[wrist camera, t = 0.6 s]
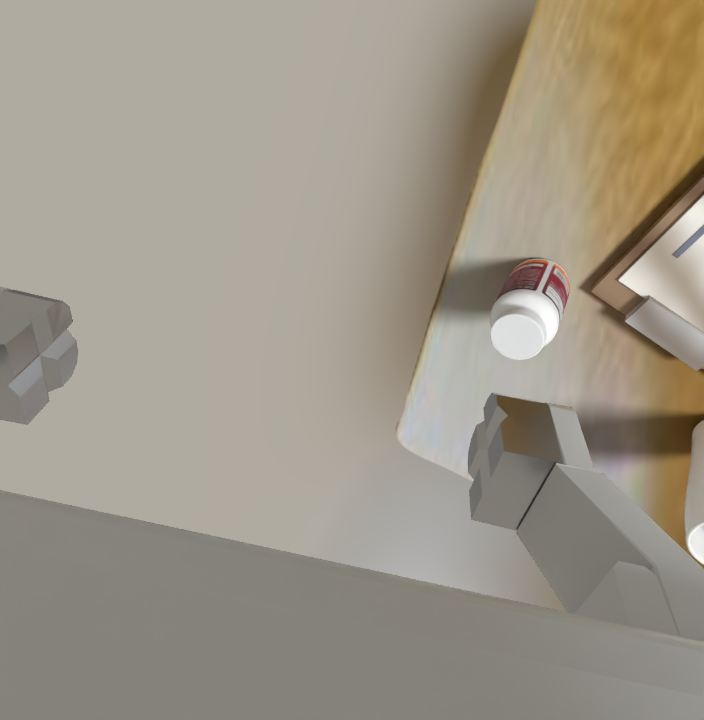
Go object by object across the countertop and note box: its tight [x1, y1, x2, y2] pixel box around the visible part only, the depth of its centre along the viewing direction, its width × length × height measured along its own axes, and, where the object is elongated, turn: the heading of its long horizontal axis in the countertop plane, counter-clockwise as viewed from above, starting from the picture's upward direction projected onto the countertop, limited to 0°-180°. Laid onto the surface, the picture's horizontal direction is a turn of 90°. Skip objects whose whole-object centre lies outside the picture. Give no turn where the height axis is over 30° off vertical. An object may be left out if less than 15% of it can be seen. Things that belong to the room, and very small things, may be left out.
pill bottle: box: [490, 259, 570, 360], centre depth 51 cm, size 6×6×11 cm
